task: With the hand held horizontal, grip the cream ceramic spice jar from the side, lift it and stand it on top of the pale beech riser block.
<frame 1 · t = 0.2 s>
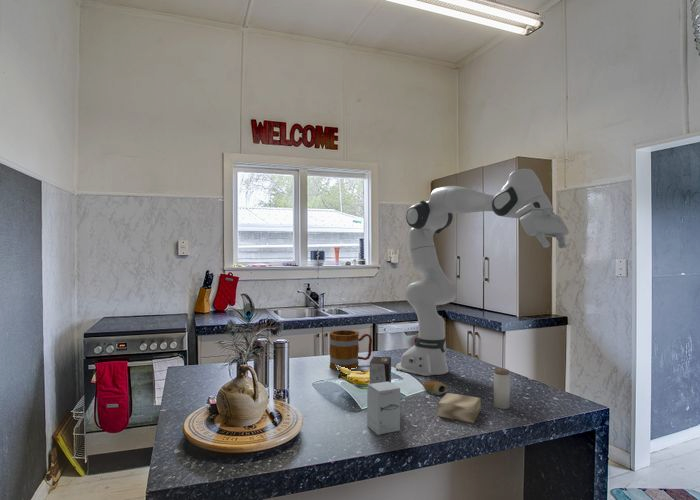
hand: (555, 247, 137), 53 cm above the worktop, tool tilted 25°, fingers open, 8 cm apart
pastry: (435, 392, 158), on the worktop
mug: (350, 366, 191), on the worktop
supplement box: (383, 429, 125), on the worktop
spice jar: (501, 405, 143), on the worktop
coffee box: (380, 409, 141), on the worktop
riser: (459, 413, 137), on the worktop
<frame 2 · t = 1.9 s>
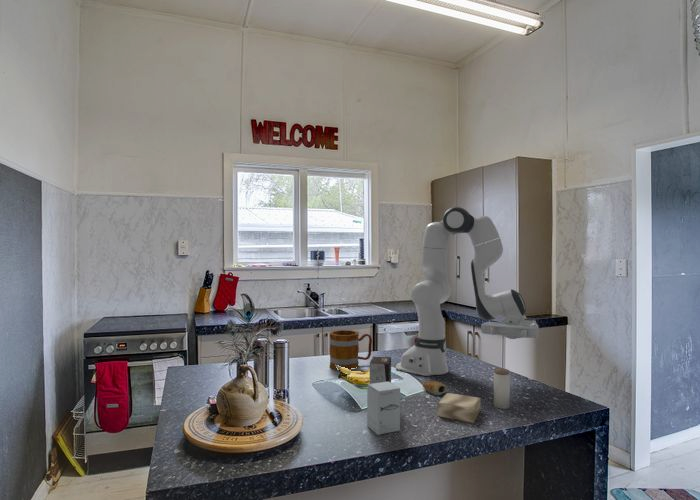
hand: (506, 333, 153), 22 cm above the worktop, tool horizontal, fingers open, 8 cm apart
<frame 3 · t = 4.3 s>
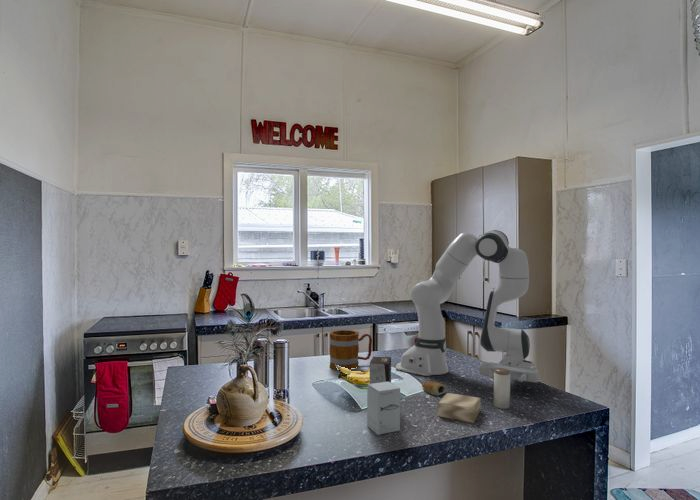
hand: (505, 377, 151), 7 cm above the worktop, tool horizontal, fingers open, 8 cm apart
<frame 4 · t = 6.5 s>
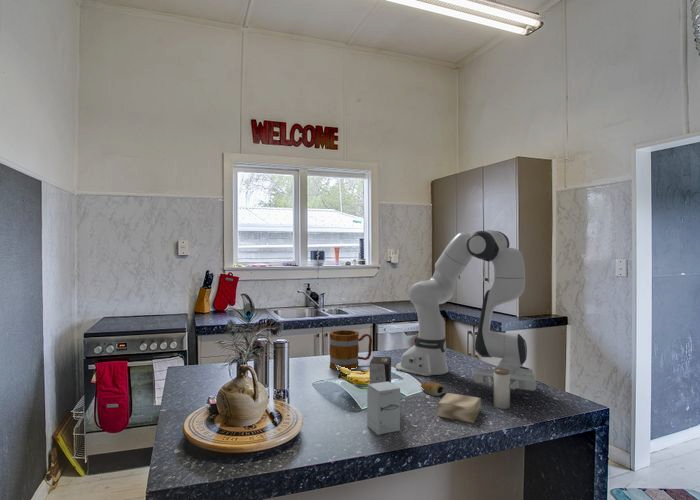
hand: (501, 385, 142), 7 cm above the worktop, tool horizontal, fingers closed on spice jar, 5 cm apart
spice jar: (501, 405, 143), on the worktop, touching gripper
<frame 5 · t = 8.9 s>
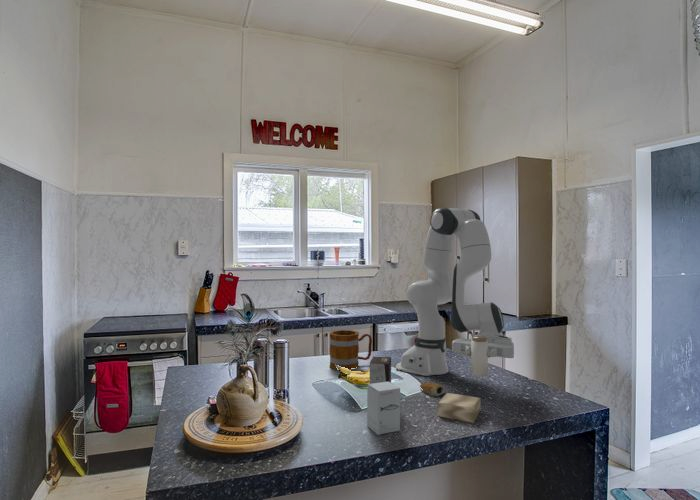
hand: (478, 353, 138), 19 cm above the worktop, tool horizontal, fingers closed on spice jar, 5 cm apart
spice jar: (479, 373, 139), point 12 cm above the worktop, touching gripper
when the fingers open (12 cm above the worktop, at t = 11.1 s): spice jar stays where it is, resting on riser.
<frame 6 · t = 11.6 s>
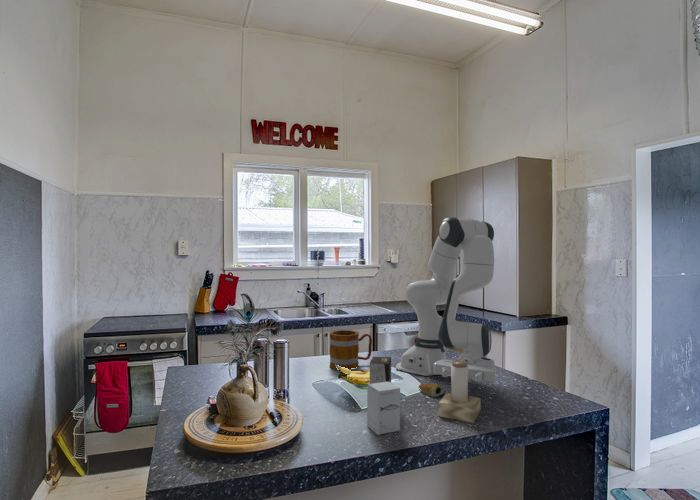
hand: (459, 376, 136), 12 cm above the worktop, tool horizontal, fingers open, 8 cm apart
spice jar: (459, 400, 137), point 4 cm above the worktop, touching riser
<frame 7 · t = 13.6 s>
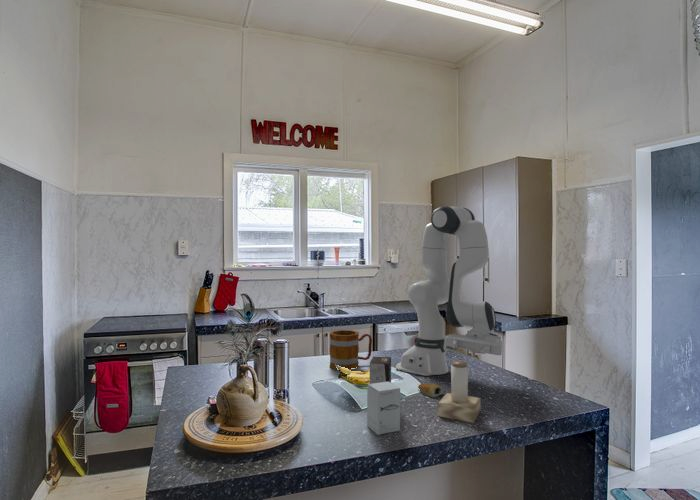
hand: (468, 348, 148), 18 cm above the worktop, tool horizontal, fingers open, 8 cm apart
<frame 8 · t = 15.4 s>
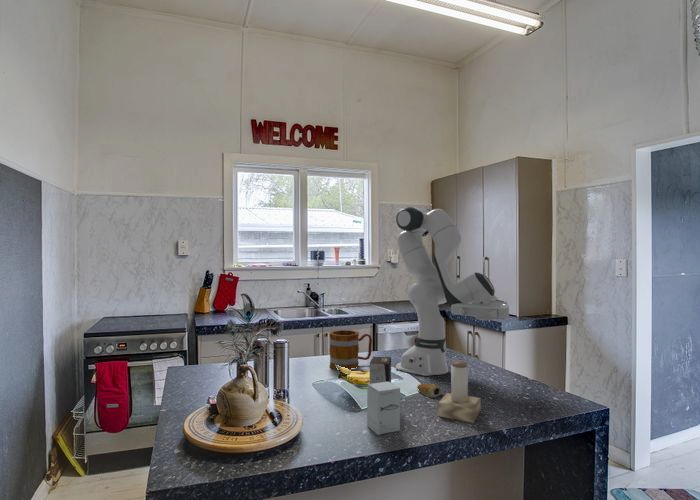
hand: (475, 313, 149), 30 cm above the worktop, tool horizontal, fingers open, 8 cm apart
at the end: spice jar inside the target area on the riser (0.0 cm from its centre), point 4.2 cm above the riser's base; spice jar touching riser; spice jar tilted 0° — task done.
